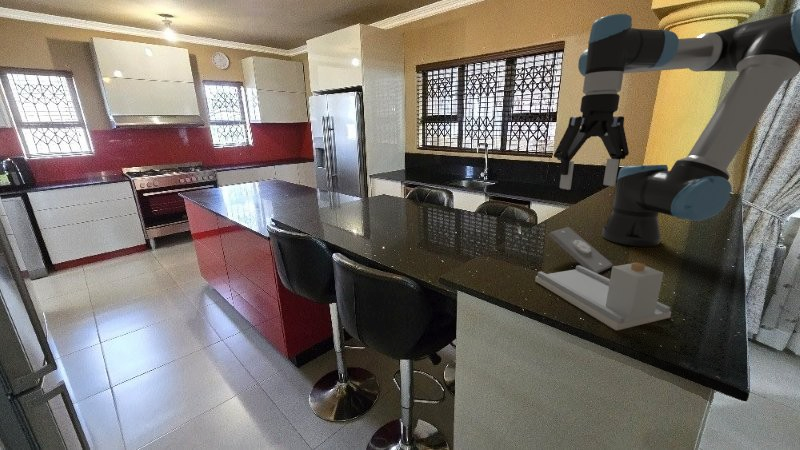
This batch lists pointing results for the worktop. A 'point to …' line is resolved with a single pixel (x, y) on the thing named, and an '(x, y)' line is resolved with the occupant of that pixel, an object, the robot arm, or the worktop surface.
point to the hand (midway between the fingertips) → (587, 187)
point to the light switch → (580, 250)
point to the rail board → (612, 293)
